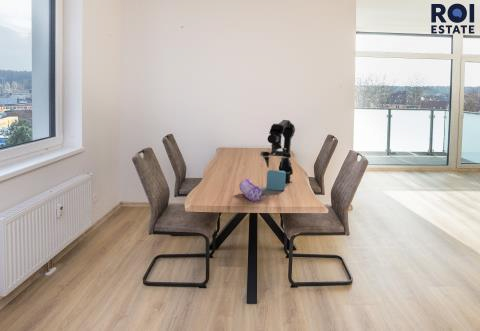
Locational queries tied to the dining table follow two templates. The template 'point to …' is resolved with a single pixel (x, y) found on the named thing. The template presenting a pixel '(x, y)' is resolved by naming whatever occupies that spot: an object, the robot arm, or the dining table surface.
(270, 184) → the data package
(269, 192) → the felt mat
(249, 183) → the pencil case
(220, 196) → the dining table surface
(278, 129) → the robot arm
